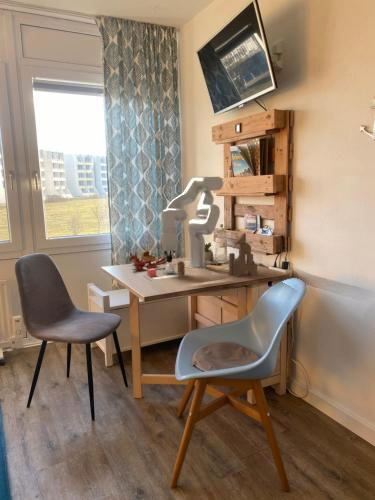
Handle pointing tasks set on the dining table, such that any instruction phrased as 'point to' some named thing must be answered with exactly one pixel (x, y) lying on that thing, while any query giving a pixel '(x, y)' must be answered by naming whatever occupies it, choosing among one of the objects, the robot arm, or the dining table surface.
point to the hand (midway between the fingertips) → (169, 262)
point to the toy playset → (146, 261)
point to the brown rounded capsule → (181, 268)
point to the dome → (170, 268)
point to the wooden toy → (242, 259)
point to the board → (153, 273)
